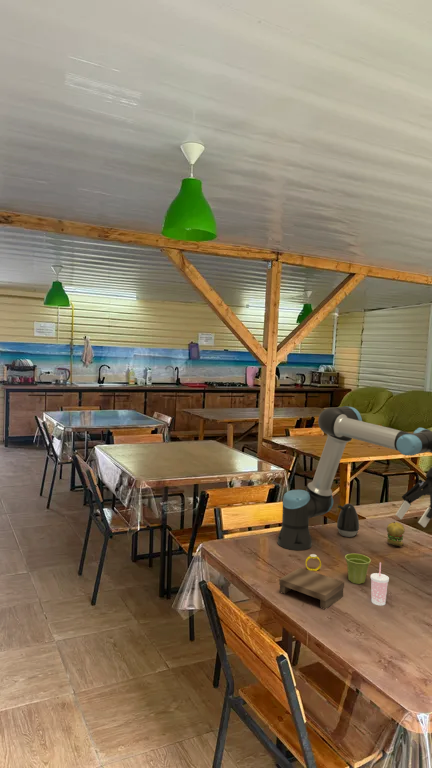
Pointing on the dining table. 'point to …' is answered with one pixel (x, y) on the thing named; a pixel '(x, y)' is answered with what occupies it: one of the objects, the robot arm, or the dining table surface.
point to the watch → (313, 558)
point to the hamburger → (395, 533)
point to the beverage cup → (379, 587)
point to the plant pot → (357, 567)
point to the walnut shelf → (313, 586)
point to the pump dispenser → (348, 521)
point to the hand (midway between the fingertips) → (409, 521)
